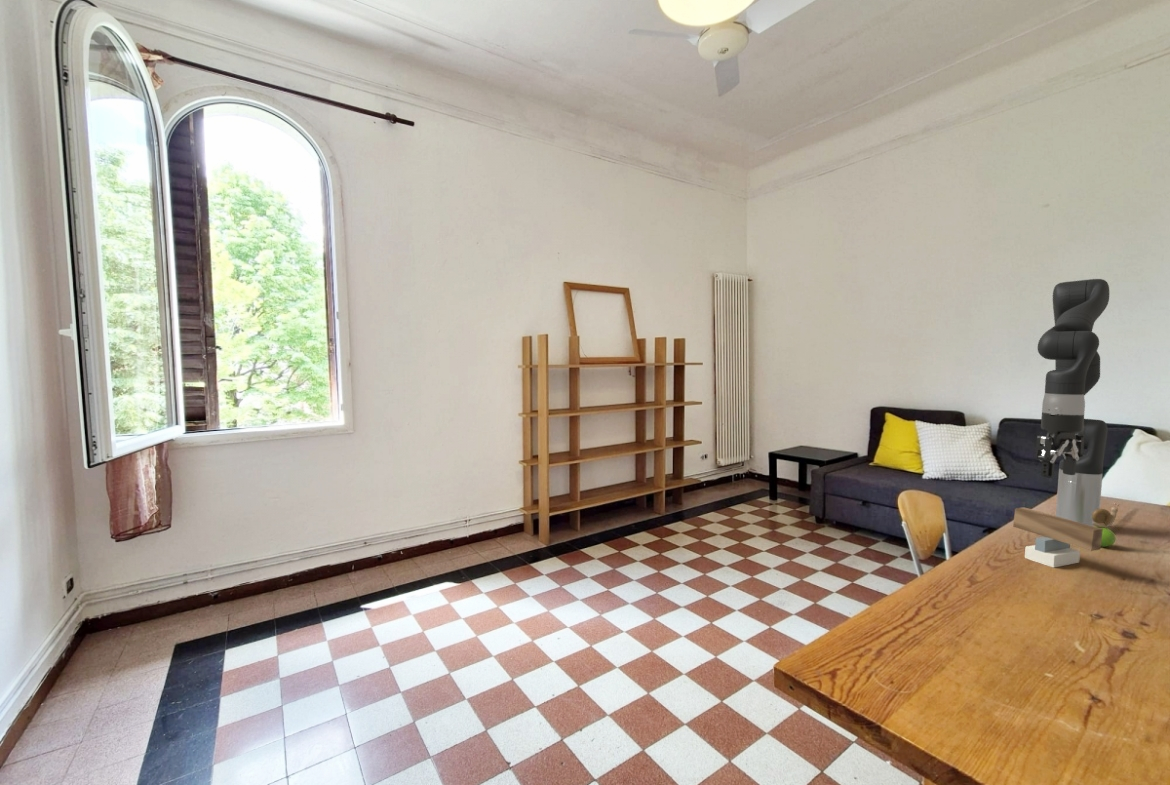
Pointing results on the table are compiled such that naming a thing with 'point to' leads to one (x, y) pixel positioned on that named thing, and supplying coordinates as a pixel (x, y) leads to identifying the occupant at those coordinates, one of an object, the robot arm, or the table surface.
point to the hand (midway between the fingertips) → (1058, 475)
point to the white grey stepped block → (1052, 552)
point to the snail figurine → (1105, 524)
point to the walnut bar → (1058, 528)
